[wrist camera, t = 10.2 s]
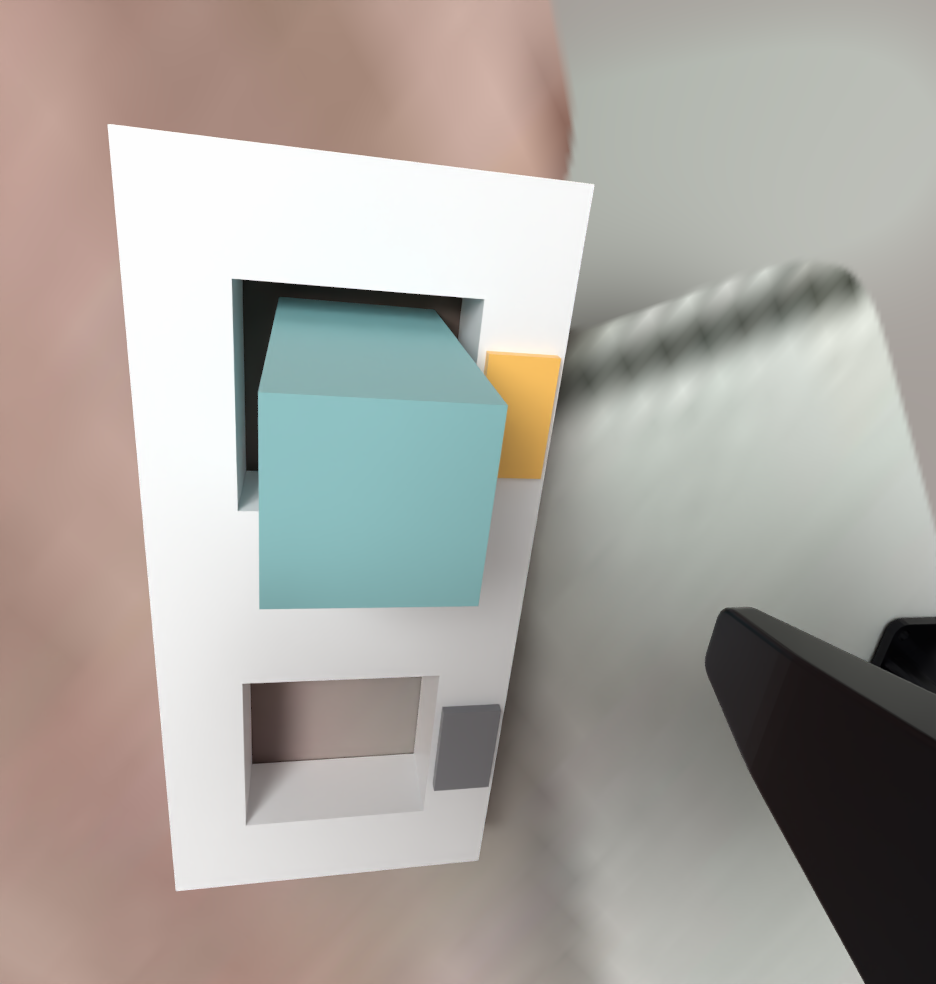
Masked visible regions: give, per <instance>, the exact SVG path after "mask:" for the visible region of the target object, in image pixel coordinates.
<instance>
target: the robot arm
mask: <svg viewBox="0 0 936 984" xmlns="http://www.w3.org/2000/svg"><path fill="white" fill-rule="evenodd" d="M705 667H706V672H707V675H708V678H709V680H710V682H711V685H712V687H713V689H714V692H715V694H716V696H717V699H718V701H719V703H720V706H721V708H722V710H723V713H724V715H725V717H726V720H727V722H728V724H729V727H730V729H731V731H732V734H733V736H734V738H735V741H736V743H737V745H738V748H739V750H740V752H741V755H742V757H743V759H744V761H745V764H746V766H747V768H748V770H749V772H750V774H751V776H752V778H753V780H754V782H755V784H756V786H757V788H758V790H759V791H760V793H761V795H762V797H763V799H764V800H765V802H766V804H767V806H768V808H769V810H770V811H771V813H772V815H773V817H774V819H775V821H776V822H777V824H778V826H779V828H780V830H781V832H782V833H783V835H784V837H785V839H786V841H787V842H788V844H789V846H790V848H791V850H792V852H793V853H794V855H795V857H796V859H797V861H798V863H799V864H800V866H801V868H802V870H803V872H804V873H805V875H806V877H807V879H808V881H809V883H810V884H811V886H812V888H813V890H814V892H815V894H816V895H817V897H818V899H819V901H820V903H821V905H822V906H823V908H824V910H825V912H826V914H827V915H828V917H829V919H830V921H831V923H832V925H833V926H834V928H835V930H836V932H837V934H838V936H839V937H840V939H841V941H842V943H843V945H844V946H845V948H846V950H847V952H848V954H849V956H850V957H851V959H852V961H853V963H854V965H855V967H856V968H857V970H858V972H859V974H860V976H861V978H862V979H863V981H864V983H865V984H936V617H935V618H901V619H897V620H895V621H893V622H892V623H891V624H890V625H889V626H888V627H887V629H886V631H885V633H884V635H883V638H882V640H881V642H880V645H879V647H878V649H877V651H876V654H875V656H874V658H873V661H872V663H869V662H866V661H864V660H862V659H860V658H858V657H856V656H854V655H852V654H850V653H848V652H845V651H843V650H841V649H839V648H837V647H835V646H833V645H831V644H829V643H827V642H825V641H822V640H820V639H818V638H816V637H814V636H812V635H810V634H808V633H806V632H804V631H801V630H799V629H797V628H795V627H793V626H791V625H789V624H787V623H785V622H783V621H780V620H778V619H776V618H774V617H772V616H770V615H768V614H766V613H764V612H762V611H759V610H757V609H755V608H751V607H731V608H725V609H723V610H722V611H721V612H720V613H719V615H718V617H717V620H716V623H715V627H714V630H713V633H712V636H711V640H710V643H709V646H708V649H707V652H706V656H705Z"/></svg>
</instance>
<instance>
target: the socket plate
mask: <svg viewBox="0 0 936 984" xmlns="http://www.w3.org/2000/svg"><path fill="white" fill-rule="evenodd" d="M108 134H109V145H110V156H111V167H112V179H113V190H114V201H115V212H116V223H117V235H118V246H119V257H120V268H121V280H122V291H123V302H124V313H125V325H126V336H127V347H128V358H129V370H130V381H131V392H132V403H133V415H134V426H135V437H136V448H137V459H138V471H139V482H140V493H141V504H142V516H143V527H144V538H145V549H146V561H147V572H148V583H149V594H150V606H151V617H152V628H153V639H154V650H155V662H156V673H157V684H158V695H159V707H160V718H161V729H162V740H163V752H164V763H165V774H166V785H167V797H168V808H169V819H170V830H171V842H172V853H173V864H174V875H175V886H176V891H182V890H192V889H202V888H212V887H222V886H231V885H241V884H251V883H261V882H271V881H281V880H291V879H301V878H310V877H320V876H330V875H340V874H350V873H360V872H370V871H380V870H390V869H399V868H409V867H419V866H429V865H439V864H449V863H459V862H469V861H478V860H479V854H480V848H481V843H482V837H483V831H484V825H485V819H486V813H487V808H488V802H489V796H490V790H491V784H492V779H493V773H494V767H495V761H496V755H497V749H498V744H499V738H500V732H501V726H502V720H503V714H504V709H505V703H506V697H507V691H508V685H509V680H510V674H511V668H512V662H513V656H514V650H515V645H516V639H517V633H518V627H519V621H520V615H521V610H522V604H523V598H524V592H525V586H526V580H527V575H528V569H529V563H530V557H531V551H532V546H533V540H534V534H535V528H536V522H537V516H538V511H539V505H540V499H541V493H542V487H543V481H544V476H545V470H546V464H547V458H548V452H549V447H550V441H551V435H552V429H553V423H554V417H555V412H556V406H557V400H558V394H559V388H560V382H561V377H562V371H563V365H564V359H565V353H566V348H567V342H568V336H569V330H570V324H571V318H572V313H573V306H574V301H575V295H576V289H577V283H578V277H579V271H580V266H581V260H582V254H583V248H584V242H585V237H586V231H587V225H588V219H589V214H590V208H591V202H592V196H593V190H594V184H587V183H579V182H571V181H563V180H555V179H547V178H539V177H531V176H523V175H515V174H507V173H499V172H491V171H483V170H475V169H467V168H459V167H450V166H442V165H434V164H426V163H418V162H410V161H402V160H394V159H386V158H378V157H370V156H362V155H354V154H346V153H338V152H330V151H322V150H313V149H305V148H297V147H289V146H281V145H273V144H265V143H257V142H249V141H241V140H233V139H225V138H217V137H209V136H201V135H193V134H184V133H176V132H168V131H160V130H152V129H144V128H136V127H128V126H120V125H112V124H108ZM242 279H243V280H255V281H268V282H280V283H292V284H304V285H316V286H329V287H341V288H353V289H365V290H377V291H389V292H402V293H414V294H426V295H438V296H450V297H462V306H461V316H460V325H459V334H458V341H459V342H460V344H461V345H462V346H463V347H464V349H465V350H466V351H467V353H468V354H469V355H470V357H471V358H472V359H473V361H474V362H475V363H476V364H477V366H478V367H479V368H480V370H481V371H482V372H483V374H484V375H485V376H486V377H487V379H488V380H489V381H490V383H491V384H492V385H493V387H494V388H495V389H496V391H497V392H498V393H499V394H500V396H501V397H502V398H503V400H504V401H505V402H506V404H507V405H508V409H507V415H506V422H505V429H504V436H503V443H502V449H501V456H500V463H499V470H498V476H497V483H496V490H495V497H494V504H493V510H492V517H491V524H490V531H489V538H488V544H487V551H486V558H485V565H484V571H483V578H482V585H481V592H480V599H479V605H478V606H462V607H392V608H322V609H259V475H258V471H246V435H245V385H244V335H243V285H242ZM421 676H422V681H421V690H420V700H419V709H418V718H417V728H416V737H415V747H414V754H399V755H384V756H368V757H353V758H338V759H322V760H307V761H291V762H276V763H261V764H252V735H251V685H250V683H273V682H297V681H322V680H347V679H372V678H396V677H421Z"/></svg>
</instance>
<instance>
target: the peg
mask: <svg viewBox="0 0 936 984" xmlns="http://www.w3.org/2000/svg"><path fill="white" fill-rule="evenodd" d="M507 409H508V405H507V404H506V402H505V401H504V400H503V398H502V397H501V396H500V394H499V393H498V392H497V391H496V389H495V388H494V387H493V385H492V384H491V383H490V381H489V380H488V379H487V377H486V376H485V375H484V374H483V372H482V371H481V370H480V368H479V367H478V366H477V364H476V363H475V362H474V361H473V359H472V358H471V357H470V355H469V354H468V353H467V351H466V350H465V349H464V347H463V346H462V345H461V344H460V342H459V341H458V340H457V338H456V337H455V336H454V334H453V333H452V332H451V331H450V329H449V328H448V327H447V325H446V324H445V323H444V321H443V320H442V319H441V317H440V316H439V315H438V314H437V312H436V311H435V310H434V309H422V308H410V307H398V306H386V305H374V304H362V303H349V302H337V301H325V300H313V299H301V298H289V297H279V300H278V305H277V309H276V314H275V318H274V323H273V327H272V332H271V336H270V341H269V345H268V350H267V354H266V359H265V363H264V368H263V372H262V377H261V381H260V386H259V390H258V475H259V609H322V608H392V607H462V606H478V605H479V599H480V592H481V585H482V578H483V571H484V565H485V558H486V551H487V544H488V538H489V531H490V524H491V517H492V510H493V504H494V497H495V490H496V483H497V476H498V470H499V463H500V456H501V449H502V443H503V436H504V429H505V422H506V415H507Z"/></svg>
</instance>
